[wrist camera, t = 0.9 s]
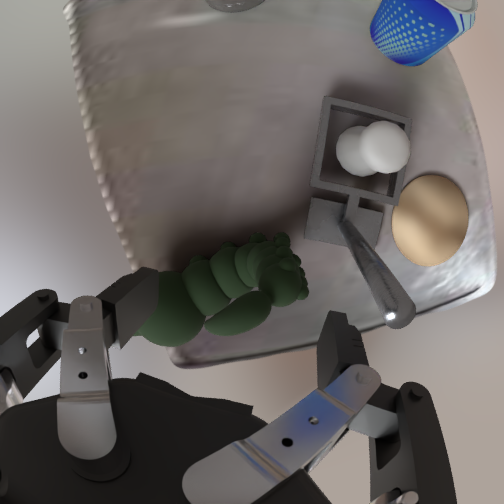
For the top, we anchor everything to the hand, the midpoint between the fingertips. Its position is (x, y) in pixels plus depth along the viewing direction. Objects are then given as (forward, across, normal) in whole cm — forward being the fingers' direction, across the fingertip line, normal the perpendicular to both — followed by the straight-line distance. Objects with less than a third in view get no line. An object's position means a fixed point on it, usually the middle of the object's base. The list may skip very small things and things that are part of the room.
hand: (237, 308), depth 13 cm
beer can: (+24, -12, -26) cm, 37 cm away
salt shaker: (+24, -8, -9) cm, 27 cm away
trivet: (+23, -20, -4) cm, 31 cm away
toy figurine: (+23, +7, +10) cm, 26 cm away
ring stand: (+23, -8, -6) cm, 25 cm away
